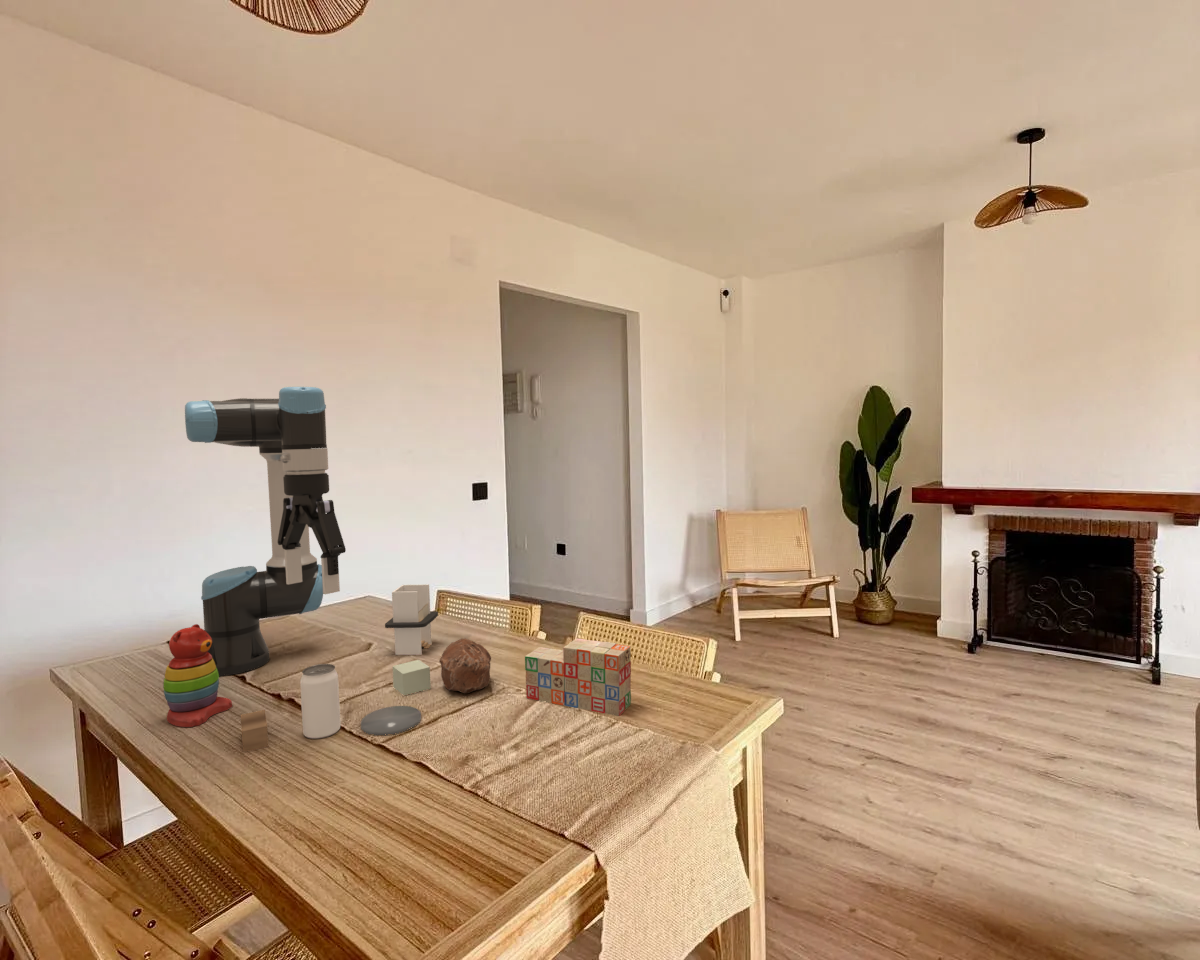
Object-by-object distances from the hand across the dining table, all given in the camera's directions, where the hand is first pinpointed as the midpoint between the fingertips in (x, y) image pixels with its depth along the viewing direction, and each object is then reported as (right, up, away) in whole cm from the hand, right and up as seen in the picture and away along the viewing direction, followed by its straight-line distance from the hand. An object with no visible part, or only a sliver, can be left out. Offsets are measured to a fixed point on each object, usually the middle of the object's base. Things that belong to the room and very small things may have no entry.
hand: (312, 587), depth 117 cm
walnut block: (-10, -28, -1) cm, 30 cm away
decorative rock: (+24, -26, +22) cm, 41 cm away
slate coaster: (+13, -27, +5) cm, 30 cm away
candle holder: (+5, -24, +47) cm, 53 cm away
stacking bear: (-28, -27, +11) cm, 41 cm away
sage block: (+12, -26, +22) cm, 36 cm away
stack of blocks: (+49, -26, +13) cm, 57 cm away
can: (+1, -28, +2) cm, 28 cm away
